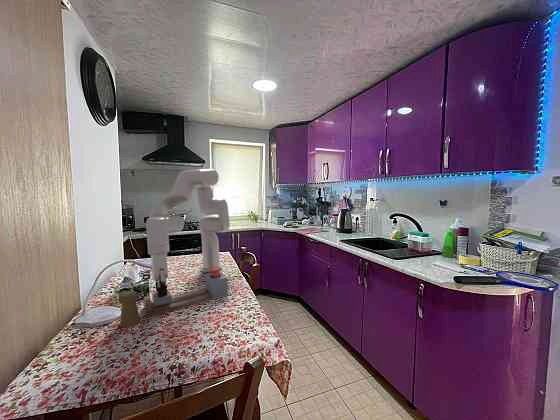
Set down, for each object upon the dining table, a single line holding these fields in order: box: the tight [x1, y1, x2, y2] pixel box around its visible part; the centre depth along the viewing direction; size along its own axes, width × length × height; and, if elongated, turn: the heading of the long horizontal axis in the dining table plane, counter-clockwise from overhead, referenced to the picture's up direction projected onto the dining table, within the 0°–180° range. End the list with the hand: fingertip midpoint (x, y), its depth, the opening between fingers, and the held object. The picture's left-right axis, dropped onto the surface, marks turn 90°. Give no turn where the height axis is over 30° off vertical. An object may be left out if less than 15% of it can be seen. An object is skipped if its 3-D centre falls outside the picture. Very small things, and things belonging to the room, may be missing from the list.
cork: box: [119, 290, 141, 328], centre depth 82 cm, size 6×6×11 cm
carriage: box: [151, 281, 172, 306], centre depth 93 cm, size 7×6×8 cm
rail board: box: [143, 288, 212, 318], centre depth 96 cm, size 10×24×4 cm, turn 124°
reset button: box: [209, 267, 222, 278], centre depth 105 cm, size 5×5×4 cm
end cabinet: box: [204, 271, 229, 300], centre depth 105 cm, size 10×7×8 cm
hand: (161, 292), depth 93 cm, fingers open, 5 cm apart
